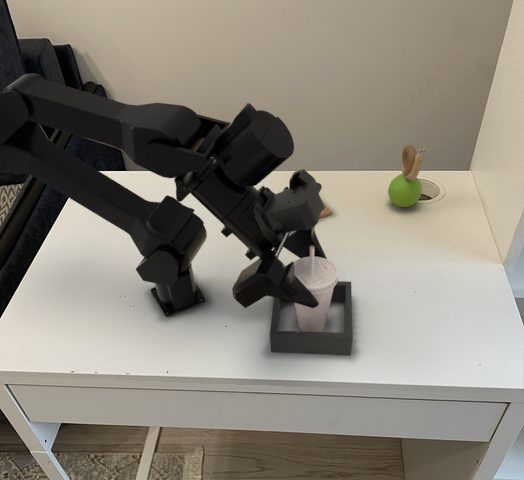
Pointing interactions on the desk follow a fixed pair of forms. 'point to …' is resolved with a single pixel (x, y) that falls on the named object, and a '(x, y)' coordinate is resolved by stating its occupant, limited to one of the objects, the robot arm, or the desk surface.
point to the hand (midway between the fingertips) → (323, 288)
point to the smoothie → (315, 290)
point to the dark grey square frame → (315, 340)
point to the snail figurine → (407, 179)
